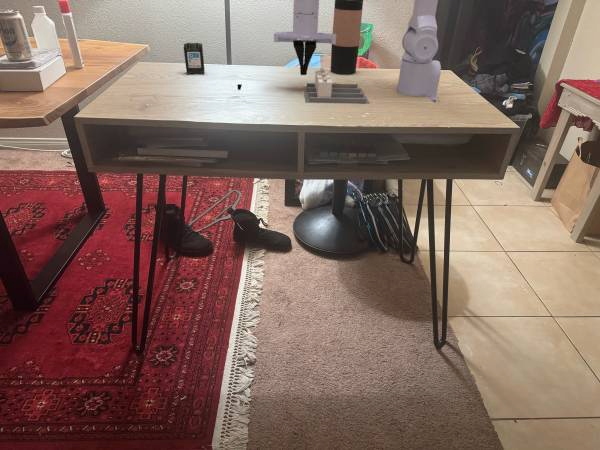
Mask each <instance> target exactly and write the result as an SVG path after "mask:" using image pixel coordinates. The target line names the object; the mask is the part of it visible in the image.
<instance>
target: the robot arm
mask: <svg viewBox="0 0 600 450" xmlns="http://www.w3.org/2000/svg"><path fill="white" fill-rule="evenodd" d="M438 3H439V0H414V3H413V9H412V15H411V17H410V19H409V21H408V23H407V29H406V31H405V33H404V34H403V36H402V39H401V45H402V49H403V50H404V53H403V55H402V57H401V64H400V70H399V77H398V80H397V81H398V82H397V89H396V91H397V93H399V94H401V95H404V96H409V97H422V96H424V97H425V96H426V97H427V98H428V99H429V100H430V101H434V102H435V101H437V93H438V87H439V83H440V79H441V73H442V72H441V71H442V66H441V62H440V61H439V60H435V59H434V60H433V58H434V57H435V55H436V54H437V53H438V50H439V41H438V37H437V33H438V25H437V20H436V14H437V10H438V9H437V8H438ZM319 6H320V0H293V6H292V7H293V9H292V11H293V16H292V23H293V24H292V31H274V32H273V43H292V44H293V48H294V51H295V53H296V57H297V59H298V64H299V71H300V76H307V73H308V69H309V65H310V62H311V59H312V57H313V55H314V53H315V52H316V48H317V44H331V45H332V44H336V34H332V33H326V32H325V33H324V32H318V28H319V8H320V7H319Z"/></svg>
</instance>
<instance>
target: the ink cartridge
mask: <svg viewBox="0 0 600 450" xmlns="http://www.w3.org/2000/svg"><path fill="white" fill-rule="evenodd" d="M183 53H184V62H185V71H186V75H194V74H202V75H204V74H205V62H204V61H205V59H204V50H203V43H201V42H200V43H199V42H186V43H184V44H183Z"/></svg>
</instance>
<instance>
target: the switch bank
mask: <svg viewBox="0 0 600 450" xmlns="http://www.w3.org/2000/svg"><path fill="white" fill-rule="evenodd" d="M358 86H359V84H358V83H332V90H331V98H327V97H317V92H316V88H315V82H306V86H302V92H303V96H304V103H306V104H309V103H310V104H312V103H313V104H353V105H354V104H355V105H356V104H357V105H358V104H362V105H363V104H365V105H370V104H371V102H370V101H369V99H368V98H367V96H366V94H365V92H364V91H363V89H362V88H361V87H358Z"/></svg>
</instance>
